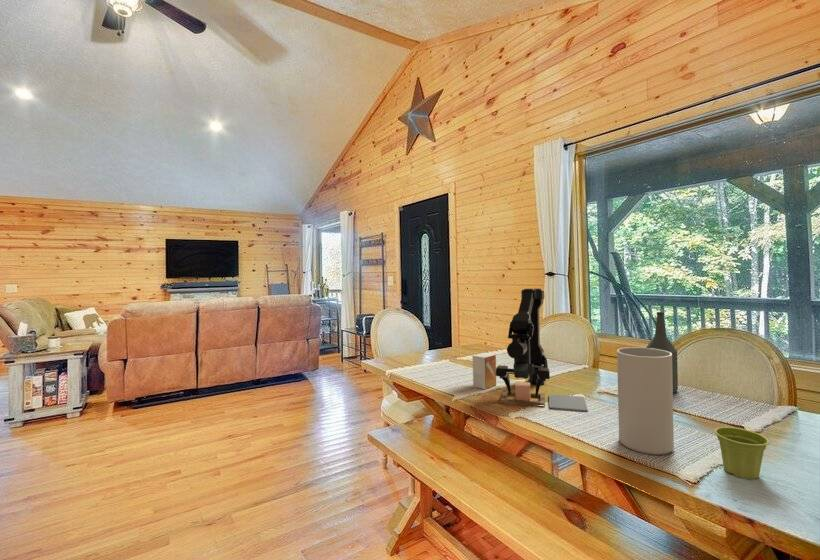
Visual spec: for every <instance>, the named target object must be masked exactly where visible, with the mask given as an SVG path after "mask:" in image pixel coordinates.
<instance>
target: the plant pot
mask: <svg viewBox="0 0 820 560" xmlns="http://www.w3.org/2000/svg"><path fill="white" fill-rule="evenodd" d="M714 433H715V434H716V437H717V440H718V441H719V447H720V453H721V459H722V463H723V466H722V467H723V469H724V470H725V471H726V473H728V474H732V475H734V476H735V477H737V478H742V479H747V480H754V479H756V478H757V479H758V478H759V477H760V473H761V467H762V463H763V456H764V453H765V452H764V451H765V450H766V449H767V446H769V444H770V440H769V439H768V438H767V437H766V436H764V435H762V434H760V433H757V432H755V431H751V430H747V429H744V428H739V427H738V428H737V427H731V426H720V427H717V428H715V429H714Z"/></svg>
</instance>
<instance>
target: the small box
mask: <svg viewBox="0 0 820 560" xmlns="http://www.w3.org/2000/svg"><path fill="white" fill-rule="evenodd" d="M496 358H497V356H496V354H494V353H488V352H481V353H478V354H474V355H472V386H473V388H477V387H478V388H477V389H481V388H482V389H483V390H487V388H488V389H489V387H490V388H492V386H493V387H495V386H494V385H496V386H497V376H496V368H497V359H496Z"/></svg>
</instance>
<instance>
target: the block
mask: <svg viewBox="0 0 820 560" xmlns="http://www.w3.org/2000/svg"><path fill="white" fill-rule="evenodd" d="M514 387H515V388H514V390H515V391H514V392H515V395H516V396H515V400H525V401H531V399H532V397H531V395H530V393H531V384H530V383H529V382H528V381H527V382H526V381H525V382H524V381H515V385H514Z"/></svg>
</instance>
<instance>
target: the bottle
mask: <svg viewBox="0 0 820 560" xmlns="http://www.w3.org/2000/svg"><path fill="white" fill-rule="evenodd" d="M664 314H665V312H664V311H656V321H655V330H654V331H655V332H654V336H653V337H652V339H651V340H650V341H649V343H648V345H647V346H646V347H645V348H652V349H659V350H664V351H668V352H670V353H672V378H673V392H674V393H676V392H677V391H678V389H679V382H678V381H679V378H678V376H679V374H678V370H679V369H678V350H677V349H676V347H675V346H674V344H673V343H672V342H671V340H670V339H669V338H668V336H667V330H666V323H665V316H664Z"/></svg>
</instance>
